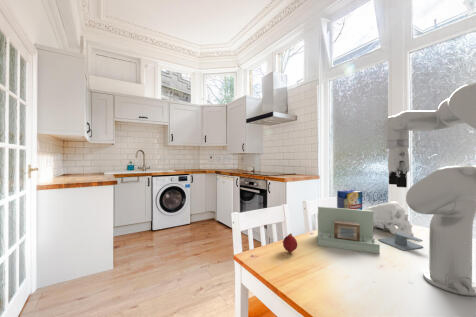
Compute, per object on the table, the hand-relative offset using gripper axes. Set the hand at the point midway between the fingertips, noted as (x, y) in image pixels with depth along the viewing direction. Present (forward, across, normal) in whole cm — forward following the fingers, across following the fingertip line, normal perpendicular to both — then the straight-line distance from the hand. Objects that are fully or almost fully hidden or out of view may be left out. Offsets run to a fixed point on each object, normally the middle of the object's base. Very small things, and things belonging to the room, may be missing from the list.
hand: (397, 185), depth 88 cm
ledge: (+28, +3, +19) cm, 34 cm away
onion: (+28, -16, +42) cm, 53 cm away
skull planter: (+29, +33, -6) cm, 44 cm away
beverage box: (+28, +21, +15) cm, 38 cm away
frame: (+26, 0, +19) cm, 32 cm away
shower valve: (+29, +11, -6) cm, 32 cm away
